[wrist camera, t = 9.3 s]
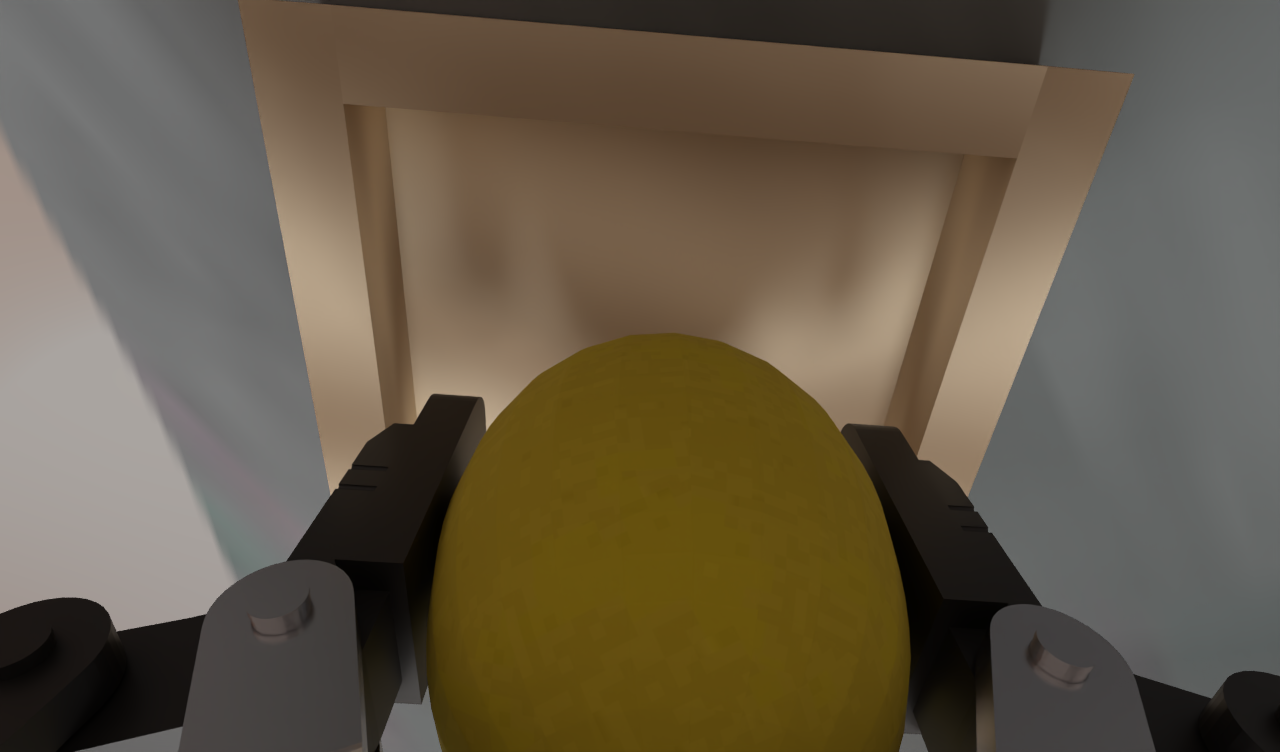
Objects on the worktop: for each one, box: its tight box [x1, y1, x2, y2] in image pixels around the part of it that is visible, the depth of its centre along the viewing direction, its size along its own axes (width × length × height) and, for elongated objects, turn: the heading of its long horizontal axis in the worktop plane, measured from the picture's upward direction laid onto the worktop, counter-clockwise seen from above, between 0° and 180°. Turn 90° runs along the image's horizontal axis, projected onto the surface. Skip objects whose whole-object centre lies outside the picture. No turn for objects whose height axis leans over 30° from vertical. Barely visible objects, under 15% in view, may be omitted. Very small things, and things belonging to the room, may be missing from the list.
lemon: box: [426, 333, 911, 752], centre depth 8 cm, size 6×6×8 cm
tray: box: [238, 0, 1134, 497], centre depth 13 cm, size 12×12×2 cm
